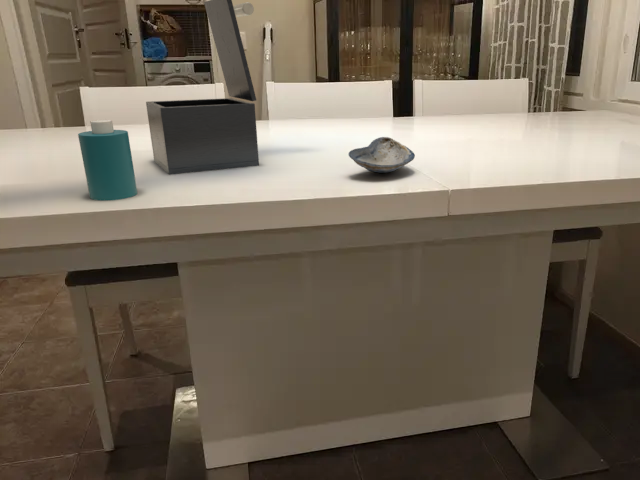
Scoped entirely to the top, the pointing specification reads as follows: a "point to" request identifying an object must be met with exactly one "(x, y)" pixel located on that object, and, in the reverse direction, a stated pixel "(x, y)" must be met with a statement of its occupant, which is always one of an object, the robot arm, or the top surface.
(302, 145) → the top surface
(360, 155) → the seashell
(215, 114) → the black box
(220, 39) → the box lid
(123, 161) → the detergent bottle
